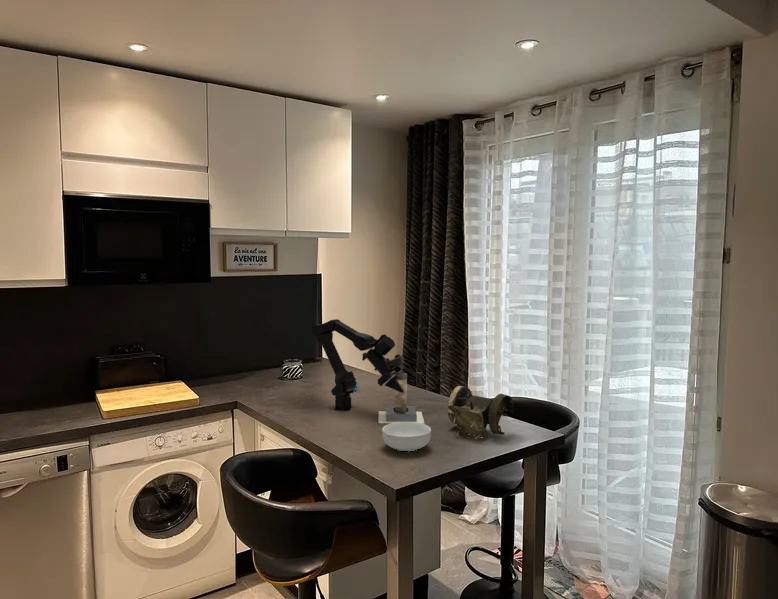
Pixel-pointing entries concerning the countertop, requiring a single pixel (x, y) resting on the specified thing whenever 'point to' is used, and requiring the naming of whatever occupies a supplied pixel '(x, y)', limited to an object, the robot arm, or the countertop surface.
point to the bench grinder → (477, 411)
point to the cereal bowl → (406, 435)
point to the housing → (401, 414)
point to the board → (383, 420)
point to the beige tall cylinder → (400, 397)
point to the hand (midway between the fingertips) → (404, 390)
